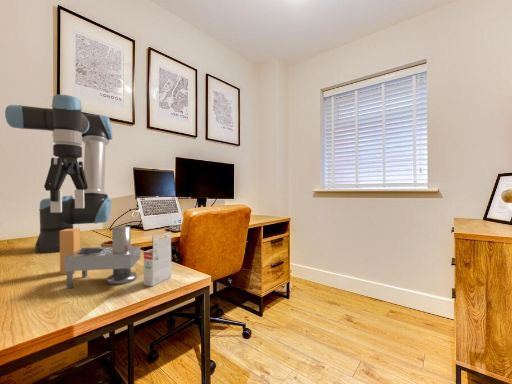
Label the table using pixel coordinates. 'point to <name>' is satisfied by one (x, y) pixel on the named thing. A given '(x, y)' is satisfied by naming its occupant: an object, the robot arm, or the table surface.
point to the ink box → (158, 260)
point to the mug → (107, 244)
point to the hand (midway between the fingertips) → (68, 210)
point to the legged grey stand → (106, 259)
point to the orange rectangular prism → (68, 245)
